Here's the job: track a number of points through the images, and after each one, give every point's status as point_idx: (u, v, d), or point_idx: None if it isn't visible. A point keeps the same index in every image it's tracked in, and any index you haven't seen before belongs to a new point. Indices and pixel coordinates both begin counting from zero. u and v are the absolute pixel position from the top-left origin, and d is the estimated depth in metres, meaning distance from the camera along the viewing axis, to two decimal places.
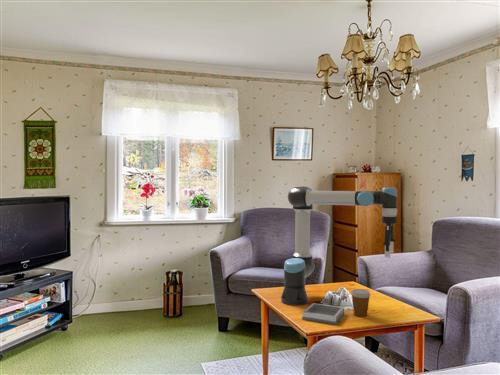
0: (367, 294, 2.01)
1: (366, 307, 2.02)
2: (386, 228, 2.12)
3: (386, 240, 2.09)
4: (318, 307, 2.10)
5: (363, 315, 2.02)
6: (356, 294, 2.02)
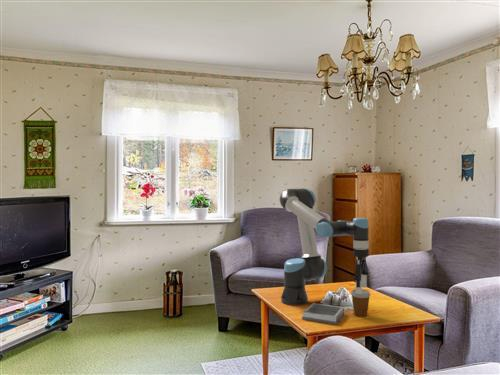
0: (367, 294, 2.01)
1: (366, 307, 2.02)
2: (357, 262, 1.99)
3: (356, 275, 1.96)
4: (318, 307, 2.10)
5: (363, 315, 2.02)
6: (356, 294, 2.02)
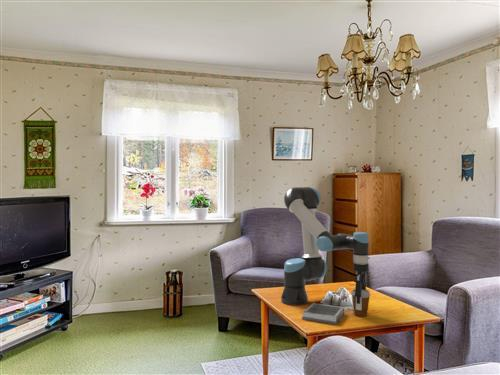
0: (367, 294, 2.01)
1: (366, 307, 2.02)
2: (356, 279, 1.99)
3: (357, 292, 1.98)
4: (318, 307, 2.10)
5: (363, 315, 2.02)
6: None
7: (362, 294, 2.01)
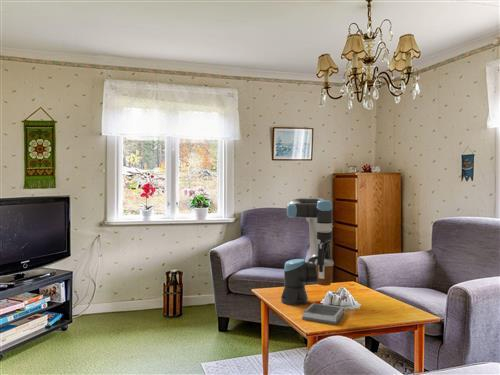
0: (330, 262, 1.98)
1: (329, 276, 1.99)
2: (319, 247, 1.96)
3: (319, 260, 1.95)
4: (318, 307, 2.10)
5: (326, 284, 1.99)
6: None
7: (325, 262, 1.98)
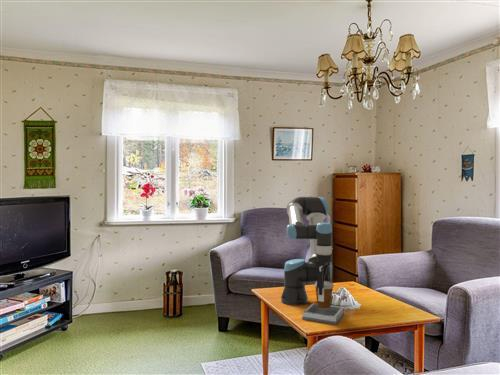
0: (330, 285, 1.98)
1: (329, 298, 1.99)
2: (319, 270, 1.96)
3: (318, 283, 1.95)
4: (318, 307, 2.10)
5: (326, 306, 1.99)
6: None
7: (325, 285, 1.98)
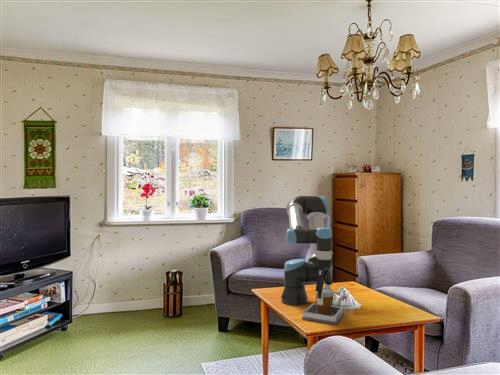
0: (330, 293, 1.98)
1: (329, 306, 1.99)
2: (318, 273, 1.96)
3: (318, 286, 1.93)
4: None
5: (326, 314, 1.99)
6: None
7: (325, 293, 1.98)
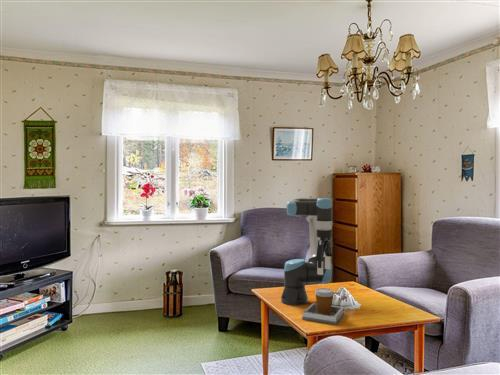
0: (330, 293, 1.99)
1: (329, 306, 1.99)
2: (319, 243, 1.96)
3: (318, 256, 1.93)
4: None
5: (326, 314, 1.99)
6: (319, 293, 1.99)
7: (325, 293, 1.98)
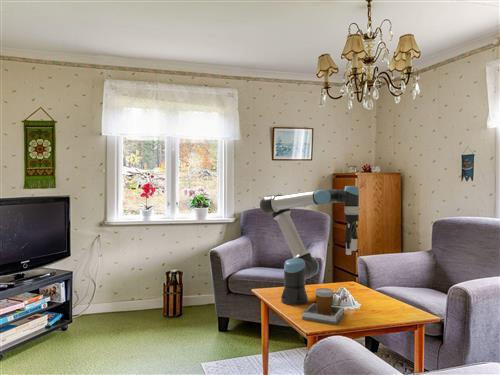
0: (330, 293, 1.98)
1: (329, 306, 1.99)
2: (347, 226, 2.15)
3: (347, 238, 2.13)
4: None
5: (326, 314, 1.99)
6: (319, 293, 1.99)
7: (325, 293, 1.98)
